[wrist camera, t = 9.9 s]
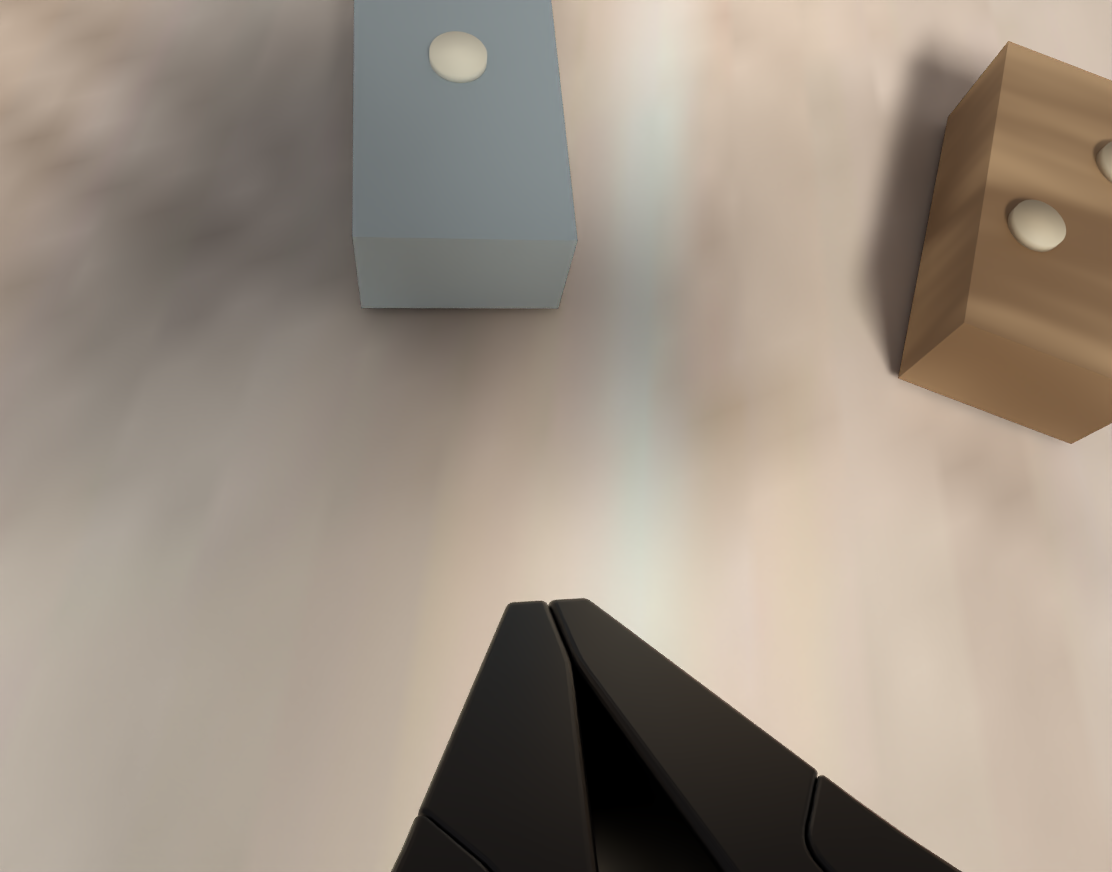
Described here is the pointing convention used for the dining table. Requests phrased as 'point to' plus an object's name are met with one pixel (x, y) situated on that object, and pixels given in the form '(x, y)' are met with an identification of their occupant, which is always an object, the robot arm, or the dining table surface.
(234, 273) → the dining table surface
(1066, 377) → the brown rectangular box
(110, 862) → the dining table surface
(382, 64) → the grey rectangular block
